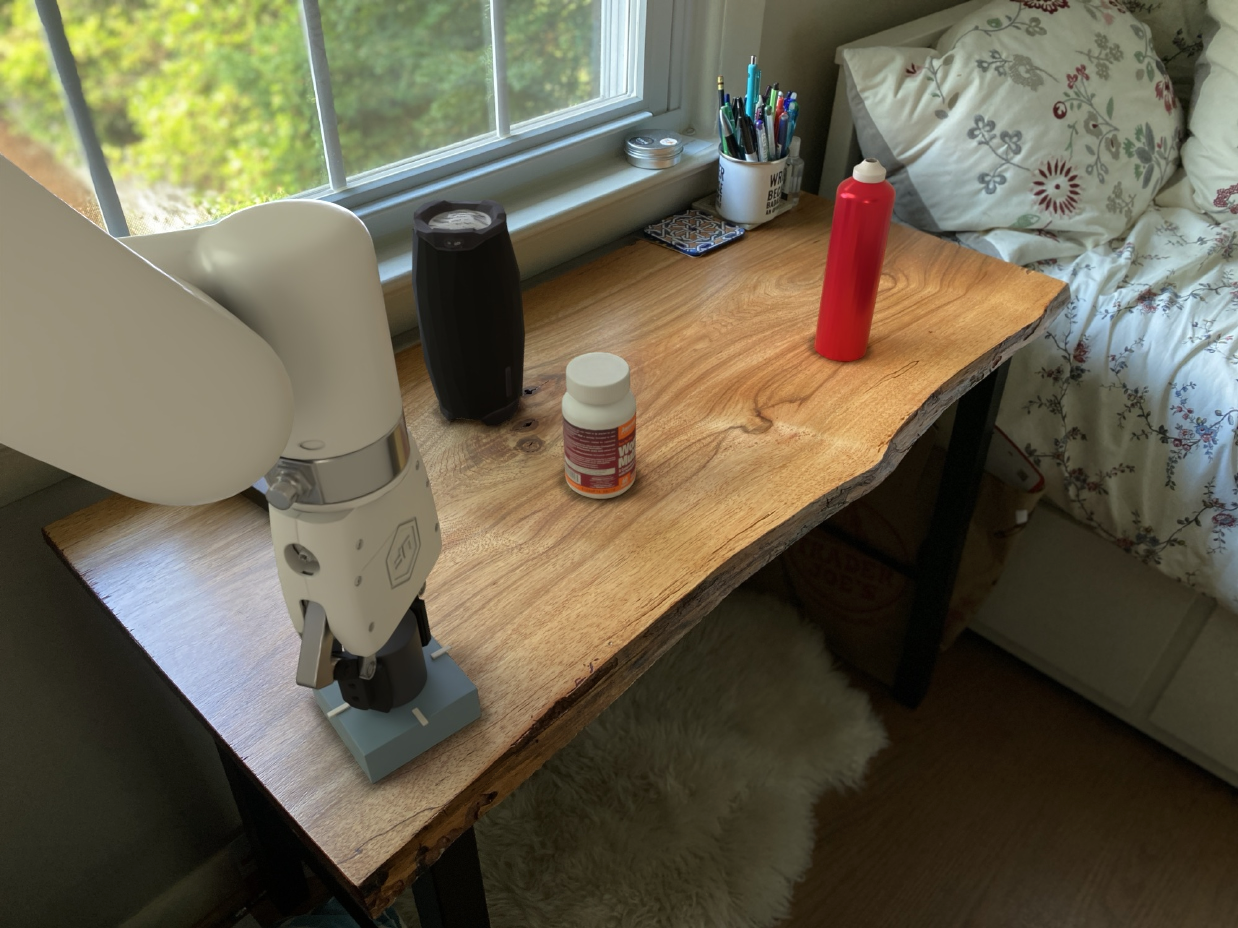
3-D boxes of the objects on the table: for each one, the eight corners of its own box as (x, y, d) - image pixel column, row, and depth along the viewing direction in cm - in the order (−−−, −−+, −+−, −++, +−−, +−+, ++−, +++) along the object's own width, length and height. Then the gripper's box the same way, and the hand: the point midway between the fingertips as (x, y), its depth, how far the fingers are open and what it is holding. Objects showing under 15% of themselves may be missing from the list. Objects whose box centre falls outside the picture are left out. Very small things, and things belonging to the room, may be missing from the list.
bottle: (803, 341, 99) (829, 155, 87) (844, 330, 101) (876, 146, 89) (834, 366, 95) (866, 175, 83) (877, 353, 97) (914, 165, 85)
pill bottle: (633, 503, 79) (635, 391, 72) (561, 500, 79) (555, 388, 72) (637, 458, 83) (638, 349, 76) (568, 455, 84) (564, 347, 77)
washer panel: (369, 792, 57) (360, 762, 55) (308, 701, 63) (298, 671, 61) (490, 716, 62) (485, 686, 60) (423, 638, 67) (417, 607, 65)
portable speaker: (421, 396, 91) (389, 205, 79) (510, 372, 94) (493, 185, 82) (449, 443, 85) (420, 243, 73) (543, 416, 88) (531, 220, 76)
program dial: (407, 717, 58) (394, 661, 55) (341, 699, 59) (325, 644, 56) (439, 661, 61) (429, 606, 58) (376, 645, 63) (363, 590, 59)
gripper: (314, 570, 41) (380, 800, 53) (466, 370, 54) (493, 590, 65) (168, 538, 43) (263, 768, 54) (350, 351, 56) (396, 569, 67)
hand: (389, 668), depth 60 cm, fingers closed on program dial, 4 cm apart
